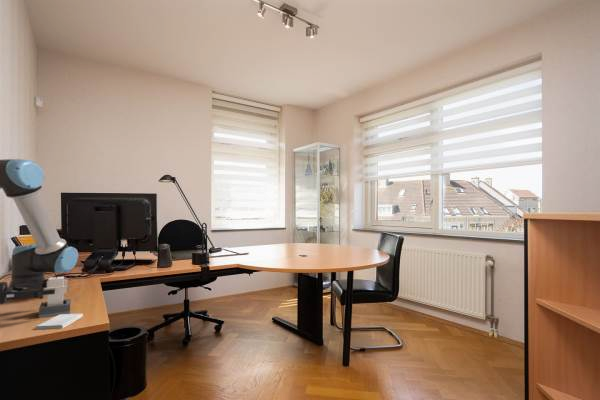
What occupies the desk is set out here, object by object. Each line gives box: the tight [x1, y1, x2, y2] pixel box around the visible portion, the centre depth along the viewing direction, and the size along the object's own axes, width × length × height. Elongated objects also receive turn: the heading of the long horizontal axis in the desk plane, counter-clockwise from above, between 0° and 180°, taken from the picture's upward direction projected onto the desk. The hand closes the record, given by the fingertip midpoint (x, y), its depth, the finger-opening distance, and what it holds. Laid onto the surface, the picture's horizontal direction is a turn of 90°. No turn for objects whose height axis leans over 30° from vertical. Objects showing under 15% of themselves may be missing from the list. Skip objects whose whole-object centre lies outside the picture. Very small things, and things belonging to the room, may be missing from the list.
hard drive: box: [34, 313, 84, 330], centre depth 108 cm, size 2×8×12 cm
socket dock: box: [38, 298, 72, 319], centre depth 118 cm, size 9×9×4 cm
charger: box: [47, 276, 65, 306], centre depth 118 cm, size 4×4×12 cm
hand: (67, 286), depth 120 cm, fingers open, 13 cm apart
